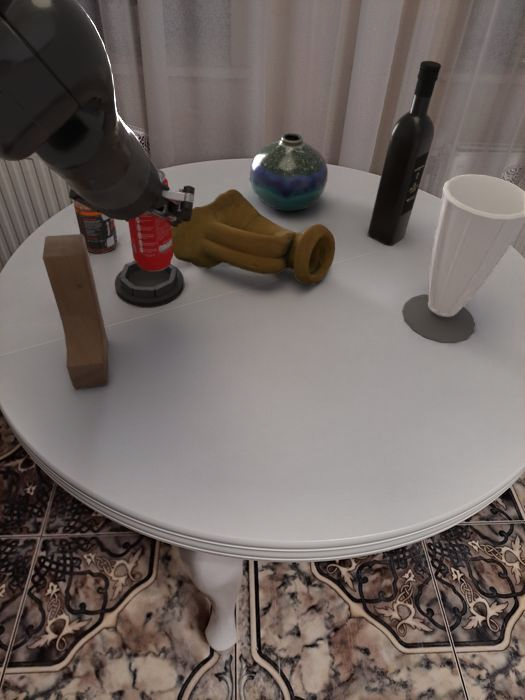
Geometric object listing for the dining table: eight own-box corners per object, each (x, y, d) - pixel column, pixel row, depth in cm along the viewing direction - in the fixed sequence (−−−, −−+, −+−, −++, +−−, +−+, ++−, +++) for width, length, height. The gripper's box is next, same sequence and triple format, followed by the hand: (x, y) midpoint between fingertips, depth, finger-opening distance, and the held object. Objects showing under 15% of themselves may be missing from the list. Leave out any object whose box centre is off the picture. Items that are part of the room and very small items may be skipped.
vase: (233, 203, 103) (234, 137, 94) (277, 176, 112) (282, 114, 103) (295, 230, 97) (303, 163, 88) (337, 200, 106) (348, 136, 97)
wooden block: (108, 385, 68) (82, 277, 55) (73, 390, 67) (38, 281, 54) (108, 339, 74) (83, 232, 61) (75, 343, 73) (44, 235, 60)
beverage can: (146, 278, 65) (136, 191, 56) (127, 258, 68) (113, 172, 59) (181, 264, 67) (176, 179, 59) (160, 246, 70) (152, 162, 62)
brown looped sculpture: (241, 182, 94) (345, 205, 83) (235, 251, 99) (332, 281, 88) (167, 185, 80) (280, 214, 69) (165, 265, 86) (269, 303, 74)
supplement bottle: (122, 249, 90) (112, 190, 82) (89, 258, 87) (75, 198, 79) (111, 232, 93) (101, 174, 85) (79, 240, 91) (65, 181, 83)
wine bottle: (406, 236, 98) (457, 64, 76) (390, 247, 95) (438, 72, 73) (381, 224, 100) (424, 55, 79) (365, 235, 97) (404, 62, 76)
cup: (484, 313, 83) (543, 191, 67) (461, 354, 76) (521, 227, 60) (418, 286, 87) (459, 165, 71) (390, 322, 80) (430, 196, 64)
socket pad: (141, 316, 78) (139, 304, 76) (102, 282, 83) (99, 270, 81) (197, 288, 83) (197, 275, 82) (158, 257, 89) (156, 245, 87)
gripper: (189, 136, 48) (212, 193, 65) (39, 121, 48) (101, 181, 65) (180, 216, 48) (205, 251, 65) (30, 200, 48) (94, 239, 65)
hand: (153, 216), depth 65 cm, fingers closed on beverage can, 5 cm apart
